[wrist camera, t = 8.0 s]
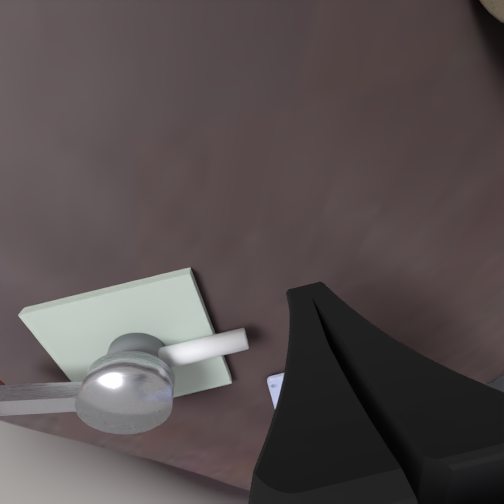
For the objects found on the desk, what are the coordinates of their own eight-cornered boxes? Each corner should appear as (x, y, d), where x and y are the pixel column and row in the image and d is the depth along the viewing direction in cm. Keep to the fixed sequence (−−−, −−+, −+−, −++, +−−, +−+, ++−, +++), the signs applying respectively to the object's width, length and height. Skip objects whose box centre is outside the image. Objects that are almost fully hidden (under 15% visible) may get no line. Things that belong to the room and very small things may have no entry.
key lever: (173, 349, 21) (167, 388, 18) (176, 405, 24) (172, 445, 21) (-45, 356, 19) (-85, 400, 16) (-12, 416, 22) (-41, 461, 19)
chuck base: (258, 369, 28) (263, 399, 25) (101, 407, 28) (90, 441, 25) (225, 258, 22) (227, 283, 19) (24, 307, 22) (-1, 339, 19)
